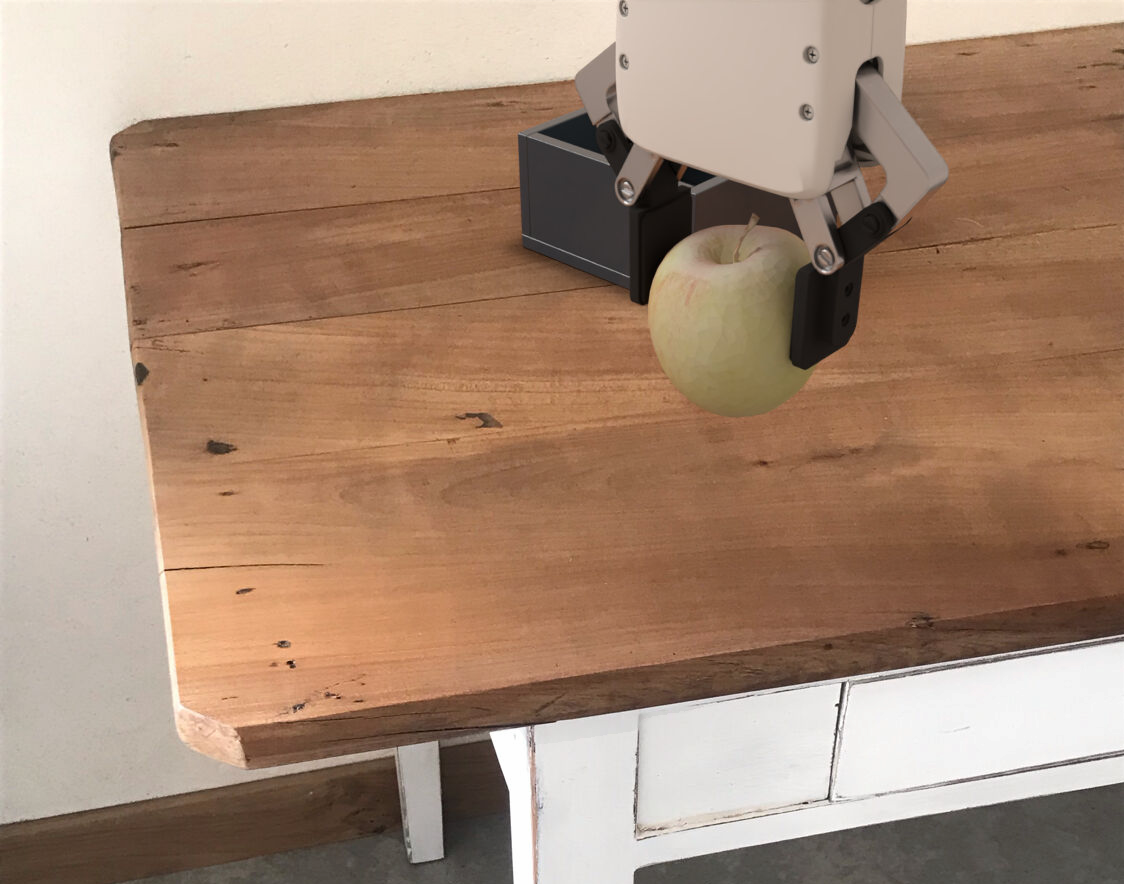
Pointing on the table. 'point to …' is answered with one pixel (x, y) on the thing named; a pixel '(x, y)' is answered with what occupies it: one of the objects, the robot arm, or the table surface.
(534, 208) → the dark grey open box
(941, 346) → the table surface
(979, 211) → the table surface
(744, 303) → the fruit
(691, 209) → the robot arm
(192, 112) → the table surface
